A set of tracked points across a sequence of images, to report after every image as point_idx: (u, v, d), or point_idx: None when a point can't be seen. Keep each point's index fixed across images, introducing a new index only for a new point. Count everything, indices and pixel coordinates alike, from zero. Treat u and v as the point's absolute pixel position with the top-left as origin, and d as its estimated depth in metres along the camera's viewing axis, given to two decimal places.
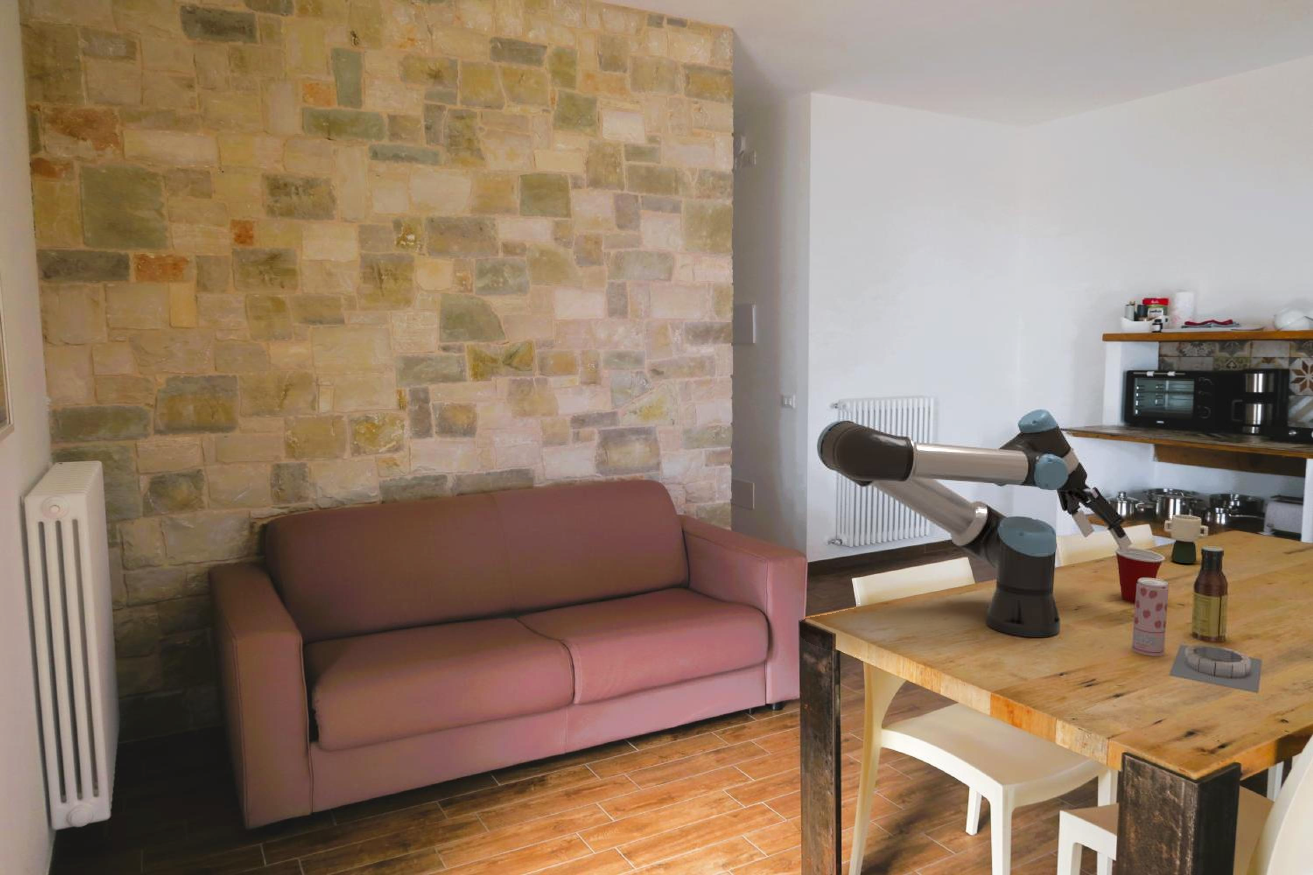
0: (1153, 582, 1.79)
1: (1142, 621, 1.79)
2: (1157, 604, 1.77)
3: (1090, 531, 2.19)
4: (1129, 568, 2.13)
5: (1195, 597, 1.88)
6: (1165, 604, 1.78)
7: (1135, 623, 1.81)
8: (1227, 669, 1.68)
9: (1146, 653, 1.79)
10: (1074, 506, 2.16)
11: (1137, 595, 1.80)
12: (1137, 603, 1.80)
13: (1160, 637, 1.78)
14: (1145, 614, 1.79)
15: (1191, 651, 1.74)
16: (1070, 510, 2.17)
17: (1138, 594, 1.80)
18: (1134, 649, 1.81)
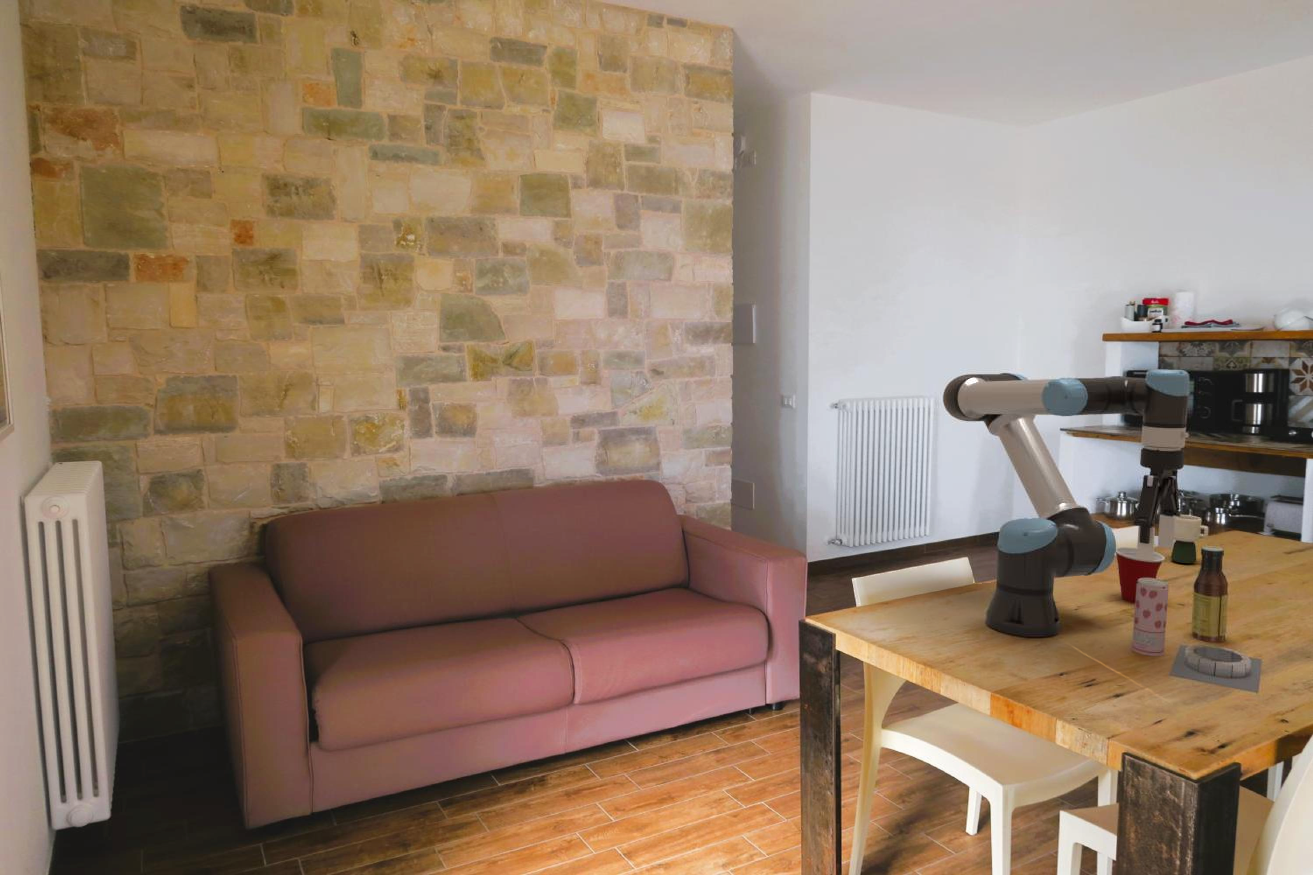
0: (1153, 582, 1.79)
1: (1142, 621, 1.79)
2: (1157, 604, 1.77)
3: (1166, 545, 1.83)
4: (1129, 568, 2.13)
5: (1195, 597, 1.88)
6: (1165, 604, 1.78)
7: (1135, 623, 1.81)
8: (1227, 669, 1.68)
9: (1146, 653, 1.79)
10: (1165, 504, 1.82)
11: (1137, 595, 1.80)
12: (1137, 603, 1.80)
13: (1160, 637, 1.78)
14: (1145, 614, 1.79)
15: (1191, 651, 1.74)
16: None
17: (1138, 594, 1.80)
18: (1134, 649, 1.81)
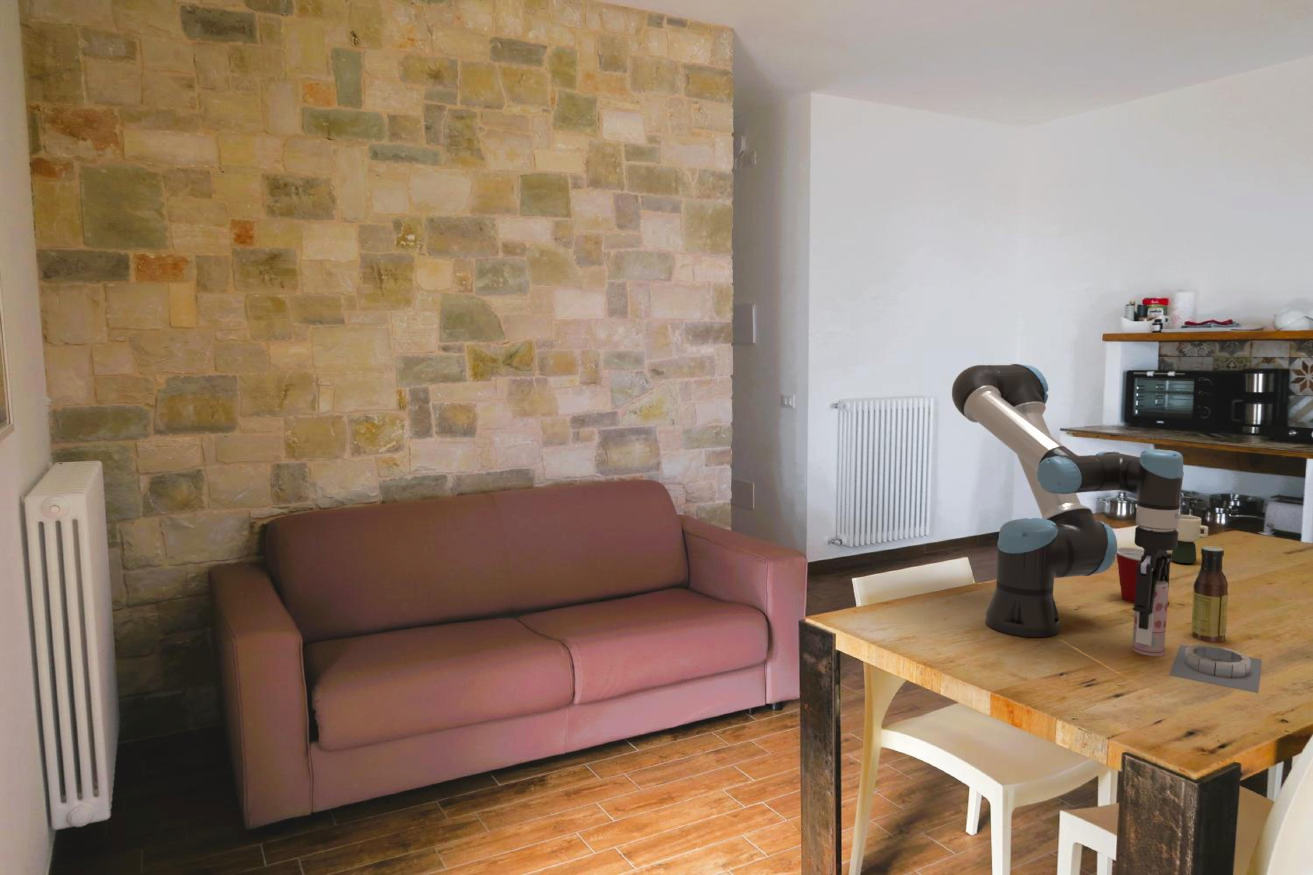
0: None
1: None
2: (1157, 603, 1.77)
3: None
4: (1130, 568, 2.13)
5: (1195, 597, 1.88)
6: (1165, 604, 1.78)
7: (1135, 623, 1.81)
8: (1227, 669, 1.68)
9: (1146, 653, 1.79)
10: None
11: None
12: None
13: (1160, 636, 1.78)
14: None
15: (1191, 651, 1.74)
16: None
17: None
18: (1134, 649, 1.81)
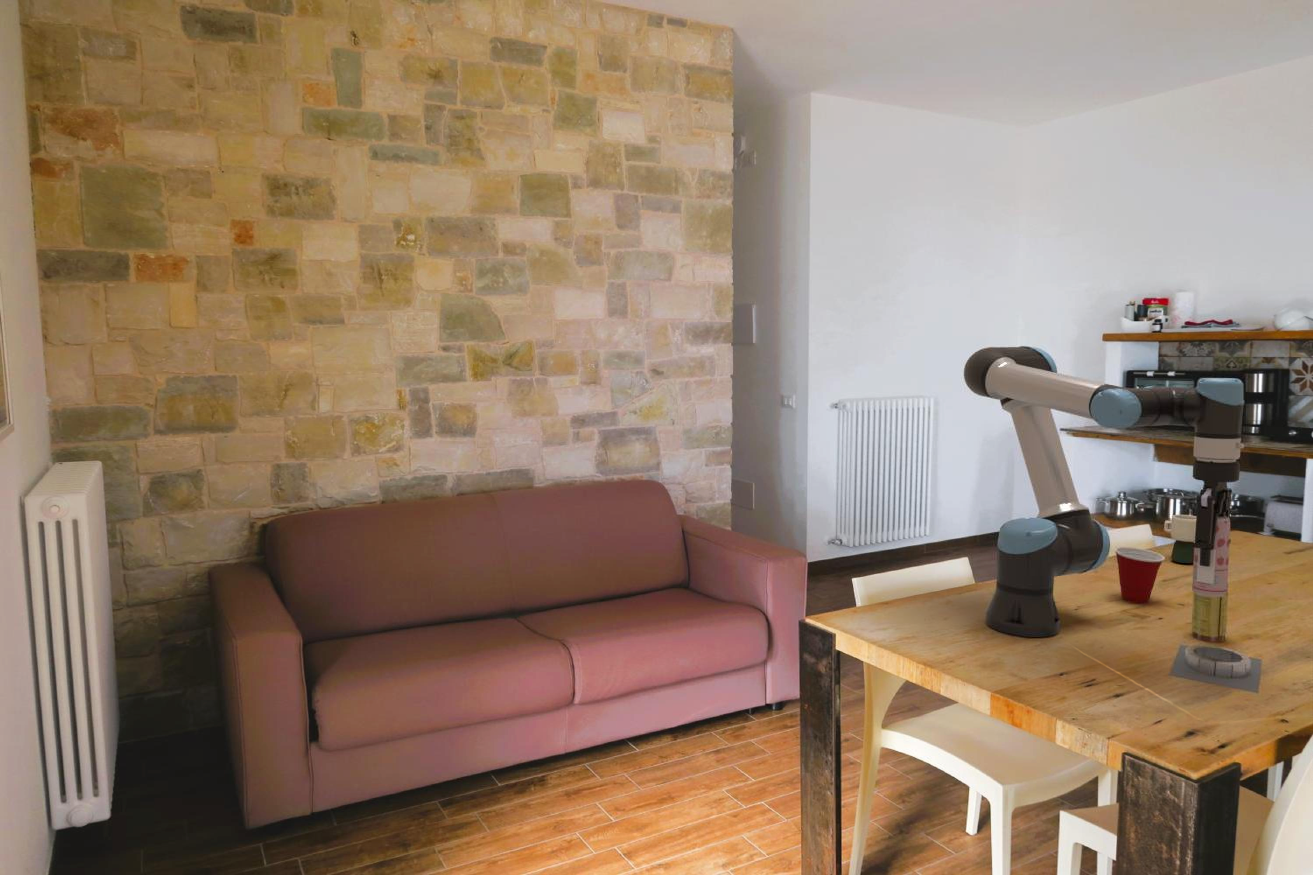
0: None
1: None
2: (1218, 539, 1.68)
3: None
4: (1129, 568, 2.13)
5: (1195, 597, 1.88)
6: (1227, 540, 1.69)
7: (1195, 562, 1.72)
8: (1227, 669, 1.68)
9: (1208, 592, 1.70)
10: None
11: None
12: None
13: (1223, 574, 1.69)
14: None
15: (1191, 651, 1.74)
16: None
17: None
18: (1195, 589, 1.72)
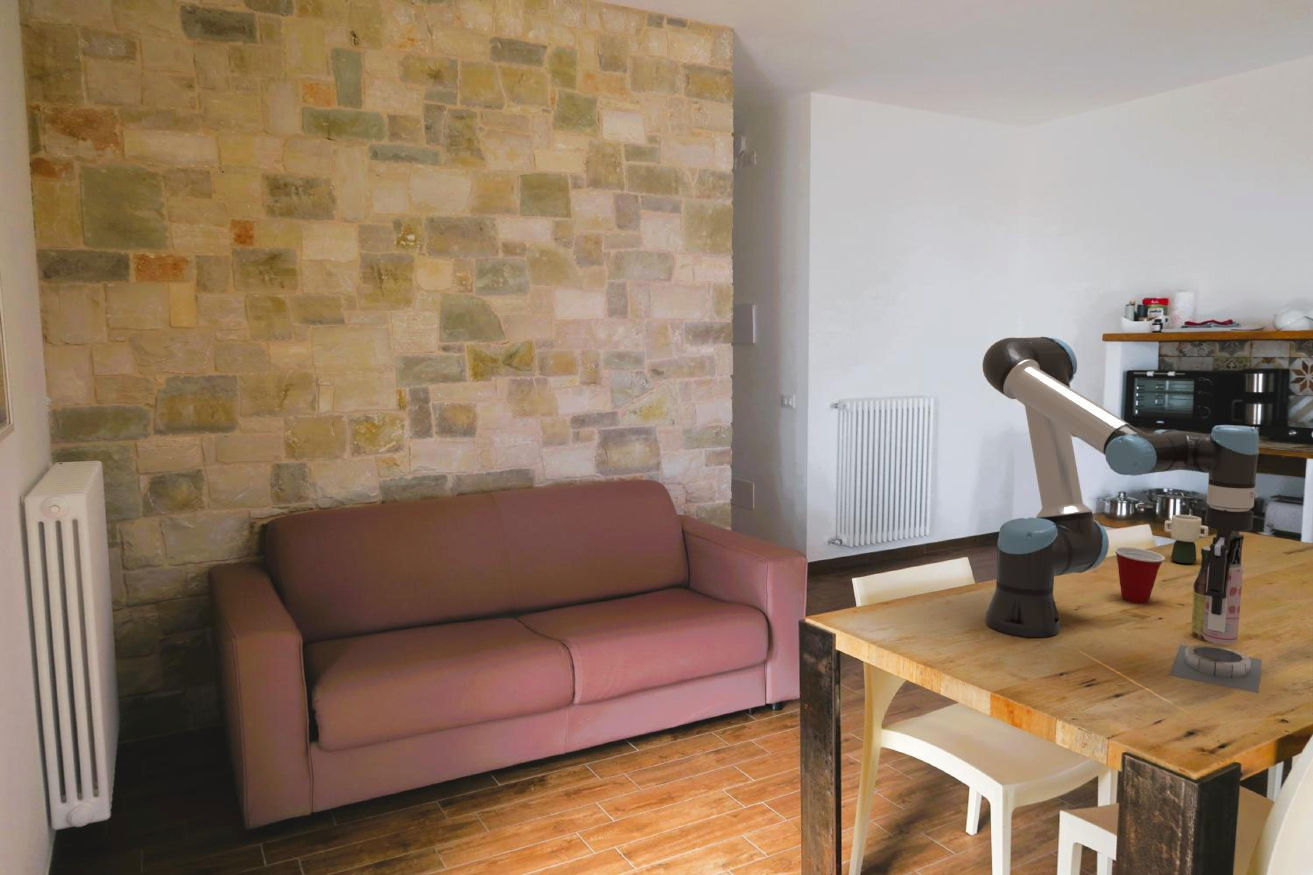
0: None
1: None
2: (1231, 588, 1.68)
3: None
4: (1129, 568, 2.13)
5: (1195, 597, 1.88)
6: (1239, 588, 1.68)
7: (1206, 609, 1.71)
8: (1227, 669, 1.68)
9: (1219, 640, 1.70)
10: None
11: None
12: None
13: (1234, 622, 1.69)
14: None
15: (1191, 651, 1.74)
16: None
17: None
18: (1205, 636, 1.72)
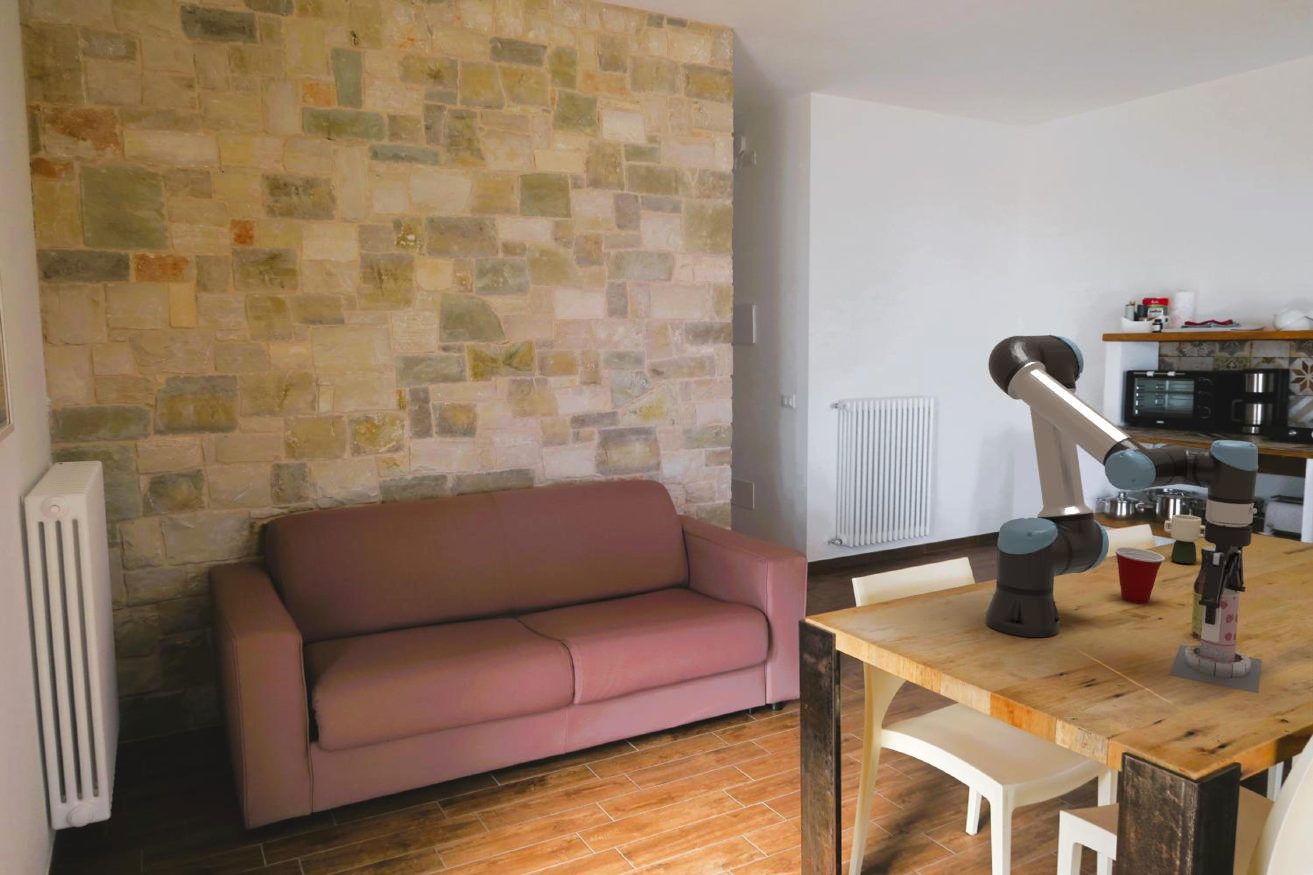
0: None
1: None
2: (1227, 615, 1.69)
3: None
4: (1129, 568, 2.13)
5: (1195, 597, 1.88)
6: (1236, 615, 1.69)
7: None
8: (1227, 669, 1.68)
9: None
10: (1229, 579, 1.75)
11: None
12: None
13: (1230, 649, 1.70)
14: None
15: (1191, 651, 1.74)
16: None
17: None
18: None
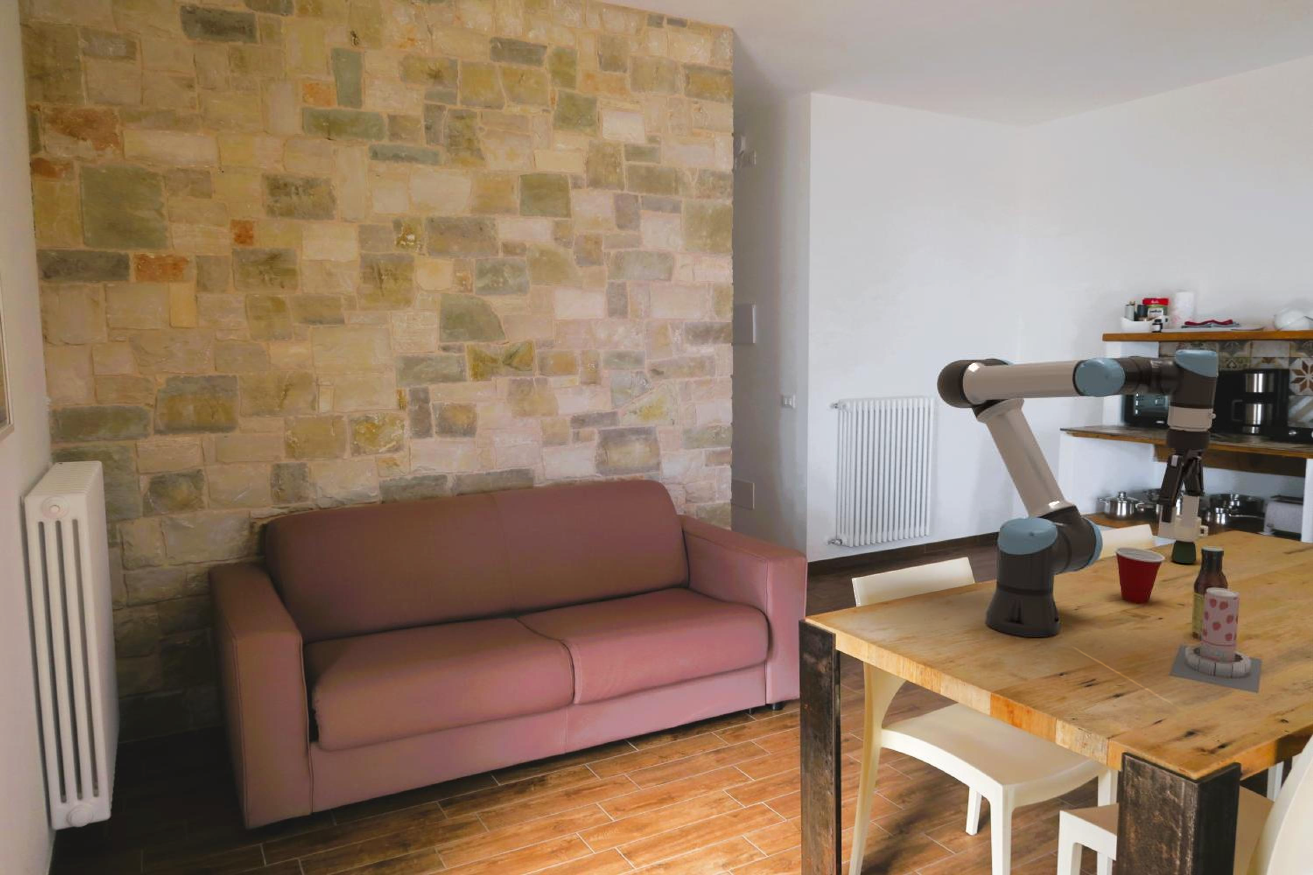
0: (1223, 592, 1.71)
1: (1211, 634, 1.70)
2: (1227, 615, 1.69)
3: (1189, 525, 1.84)
4: (1129, 568, 2.13)
5: (1195, 597, 1.88)
6: (1236, 616, 1.69)
7: (1203, 635, 1.72)
8: (1227, 669, 1.68)
9: None
10: (1189, 484, 1.83)
11: (1205, 606, 1.72)
12: (1206, 614, 1.72)
13: (1230, 650, 1.70)
14: (1214, 627, 1.70)
15: (1191, 651, 1.74)
16: None
17: (1207, 605, 1.71)
18: None
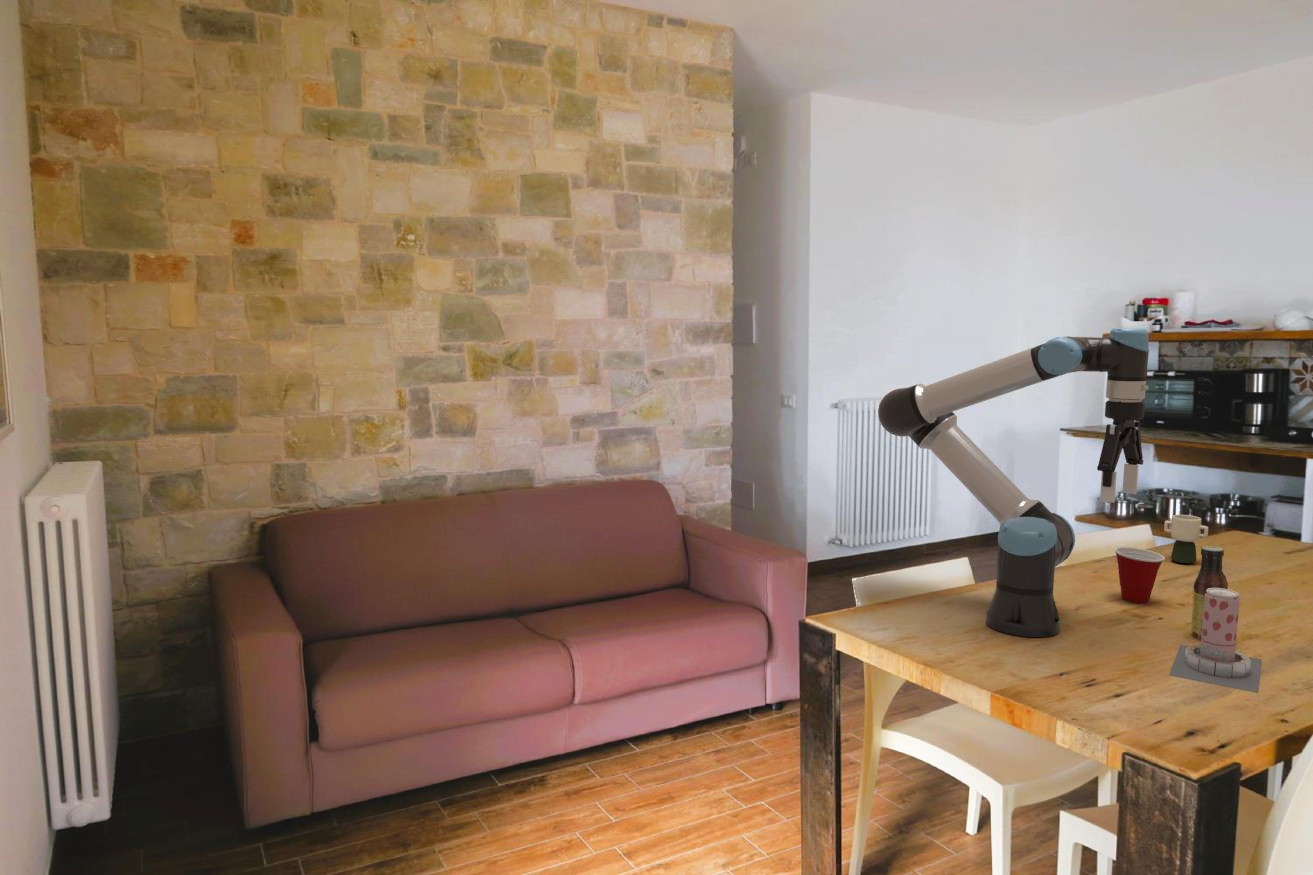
0: (1223, 592, 1.71)
1: (1211, 634, 1.70)
2: (1227, 615, 1.69)
3: (1130, 491, 1.99)
4: (1129, 568, 2.13)
5: (1195, 597, 1.88)
6: (1236, 616, 1.69)
7: (1203, 635, 1.72)
8: (1227, 669, 1.68)
9: None
10: (1128, 453, 1.98)
11: (1205, 606, 1.72)
12: (1206, 614, 1.72)
13: (1230, 650, 1.70)
14: (1214, 627, 1.70)
15: (1191, 651, 1.74)
16: None
17: (1206, 605, 1.71)
18: None
